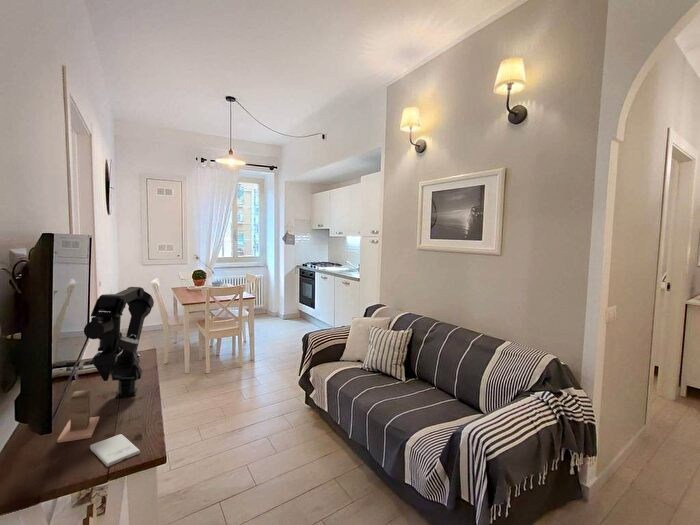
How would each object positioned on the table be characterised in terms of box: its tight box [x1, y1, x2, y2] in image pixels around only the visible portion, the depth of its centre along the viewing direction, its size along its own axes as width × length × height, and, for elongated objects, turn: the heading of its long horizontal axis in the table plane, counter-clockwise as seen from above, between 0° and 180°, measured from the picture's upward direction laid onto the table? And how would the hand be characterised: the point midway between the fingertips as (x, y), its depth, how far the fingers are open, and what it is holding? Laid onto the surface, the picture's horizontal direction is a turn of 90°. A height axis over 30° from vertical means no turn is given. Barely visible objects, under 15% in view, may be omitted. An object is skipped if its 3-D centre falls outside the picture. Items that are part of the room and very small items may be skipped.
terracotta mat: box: [56, 416, 100, 444], centre depth 107 cm, size 12×8×1 cm, turn 26°
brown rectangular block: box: [70, 389, 92, 432], centre depth 107 cm, size 4×4×11 cm
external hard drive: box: [89, 433, 141, 468], centre depth 98 cm, size 2×8×12 cm
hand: (108, 375), depth 118 cm, fingers open, 9 cm apart
